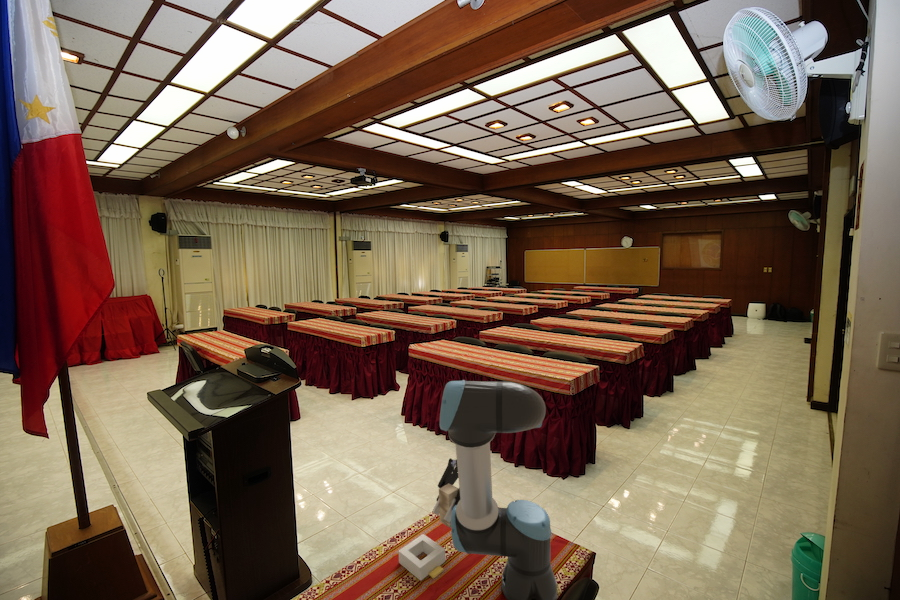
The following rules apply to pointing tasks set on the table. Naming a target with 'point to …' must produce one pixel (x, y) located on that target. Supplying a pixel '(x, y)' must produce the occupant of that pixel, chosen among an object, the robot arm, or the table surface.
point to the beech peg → (446, 501)
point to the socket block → (426, 565)
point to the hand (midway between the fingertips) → (440, 517)
